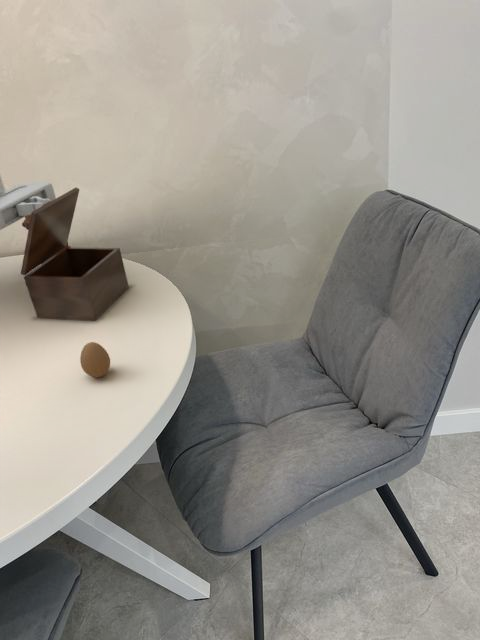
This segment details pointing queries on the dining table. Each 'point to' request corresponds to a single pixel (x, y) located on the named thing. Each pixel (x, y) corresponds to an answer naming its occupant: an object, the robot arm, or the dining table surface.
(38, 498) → the dining table surface
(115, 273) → the chest
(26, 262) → the chest lid
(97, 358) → the egg
